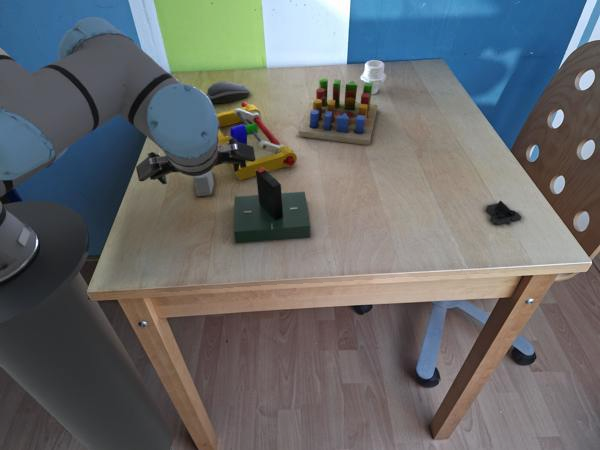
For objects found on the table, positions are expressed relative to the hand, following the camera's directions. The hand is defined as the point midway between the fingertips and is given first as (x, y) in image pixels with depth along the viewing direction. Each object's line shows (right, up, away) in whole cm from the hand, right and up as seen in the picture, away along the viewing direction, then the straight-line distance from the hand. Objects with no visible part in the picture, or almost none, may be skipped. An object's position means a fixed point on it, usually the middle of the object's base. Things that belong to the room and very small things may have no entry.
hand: (199, 170), depth 81 cm
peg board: (+29, +16, +28) cm, 43 cm away
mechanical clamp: (+4, +9, +21) cm, 23 cm away
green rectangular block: (+14, -10, +1) cm, 17 cm away
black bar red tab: (+14, -8, -1) cm, 16 cm away
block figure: (+59, -9, +2) cm, 60 cm away
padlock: (-1, -2, +10) cm, 10 cm away
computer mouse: (-1, +26, +39) cm, 47 cm away
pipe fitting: (+40, +28, +40) cm, 63 cm away
